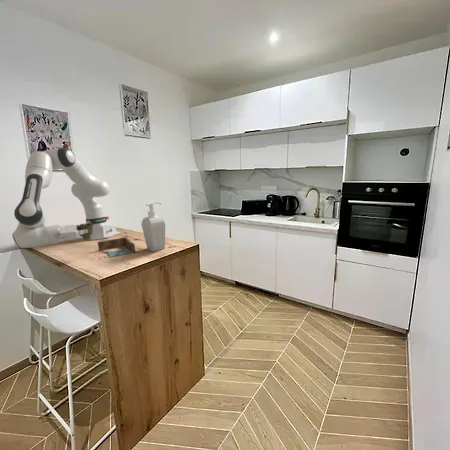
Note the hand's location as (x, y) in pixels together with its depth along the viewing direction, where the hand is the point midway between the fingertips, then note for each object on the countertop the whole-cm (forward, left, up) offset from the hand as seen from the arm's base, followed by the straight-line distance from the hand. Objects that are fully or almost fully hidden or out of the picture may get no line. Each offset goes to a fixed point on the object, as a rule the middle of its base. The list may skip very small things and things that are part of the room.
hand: (87, 229), depth 133 cm
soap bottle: (-21, +27, -15) cm, 37 cm away
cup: (+1, -1, -5) cm, 5 cm away
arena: (-10, +7, -15) cm, 19 cm away
